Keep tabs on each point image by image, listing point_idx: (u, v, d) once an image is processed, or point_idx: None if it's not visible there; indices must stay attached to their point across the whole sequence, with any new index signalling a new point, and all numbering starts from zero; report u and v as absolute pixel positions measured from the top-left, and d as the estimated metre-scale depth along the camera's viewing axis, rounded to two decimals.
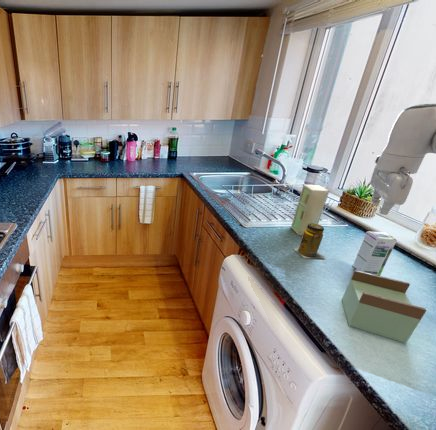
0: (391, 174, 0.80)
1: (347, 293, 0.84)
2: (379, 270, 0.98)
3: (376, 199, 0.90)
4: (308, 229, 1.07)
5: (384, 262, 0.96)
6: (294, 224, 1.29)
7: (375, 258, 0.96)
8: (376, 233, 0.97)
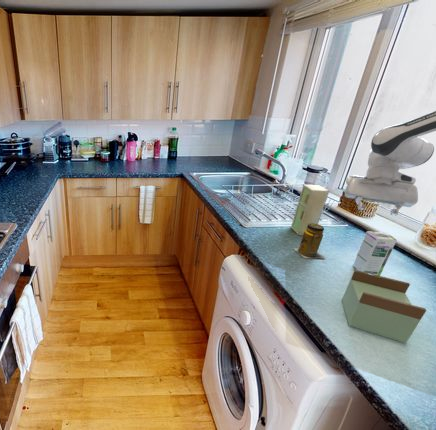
0: None
1: (347, 293, 0.84)
2: (379, 270, 0.98)
3: (392, 210, 1.03)
4: (308, 229, 1.07)
5: (384, 262, 0.96)
6: (294, 224, 1.29)
7: (375, 258, 0.96)
8: (376, 233, 0.97)
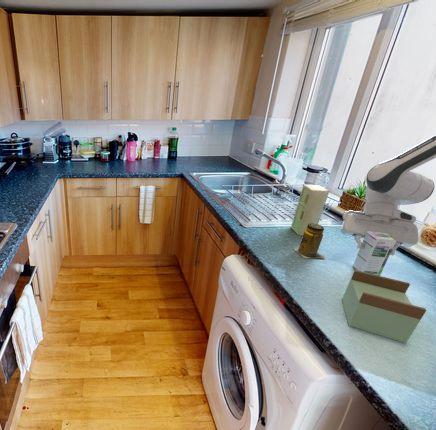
0: None
1: (347, 293, 0.84)
2: (379, 270, 0.98)
3: None
4: (308, 229, 1.07)
5: (384, 262, 0.96)
6: (294, 224, 1.29)
7: (375, 258, 0.96)
8: (376, 233, 0.97)
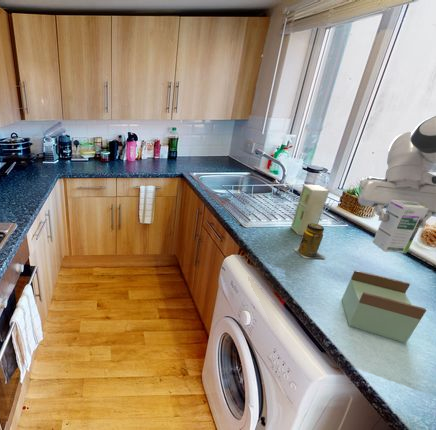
0: None
1: (347, 293, 0.84)
2: (406, 246, 0.82)
3: None
4: (308, 229, 1.07)
5: (412, 236, 0.80)
6: (294, 224, 1.29)
7: (402, 232, 0.80)
8: (402, 201, 0.80)
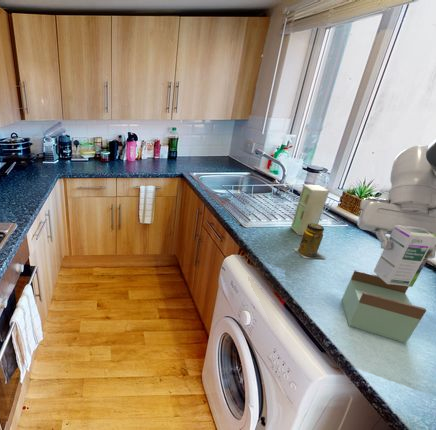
0: None
1: (347, 293, 0.84)
2: (412, 279, 0.71)
3: None
4: (308, 229, 1.07)
5: (420, 268, 0.69)
6: (294, 224, 1.29)
7: (408, 263, 0.69)
8: (409, 228, 0.70)
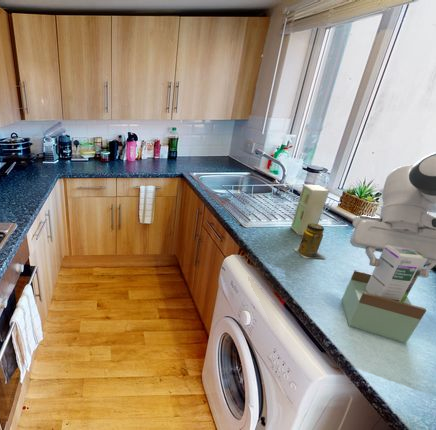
0: None
1: (347, 293, 0.84)
2: (402, 298, 0.73)
3: None
4: (308, 229, 1.07)
5: (409, 287, 0.72)
6: (294, 224, 1.29)
7: (397, 282, 0.72)
8: (398, 248, 0.72)
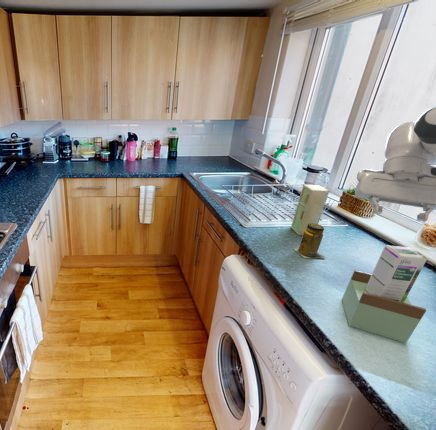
0: None
1: (347, 293, 0.84)
2: (402, 298, 0.73)
3: (419, 215, 0.77)
4: (308, 229, 1.07)
5: (409, 287, 0.72)
6: (294, 224, 1.29)
7: (397, 282, 0.72)
8: (398, 248, 0.72)
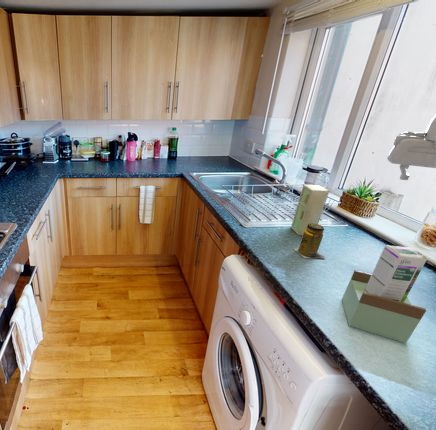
0: None
1: (347, 293, 0.84)
2: (402, 298, 0.73)
3: None
4: (308, 229, 1.07)
5: (409, 287, 0.72)
6: (294, 224, 1.29)
7: (397, 282, 0.72)
8: (398, 248, 0.72)
